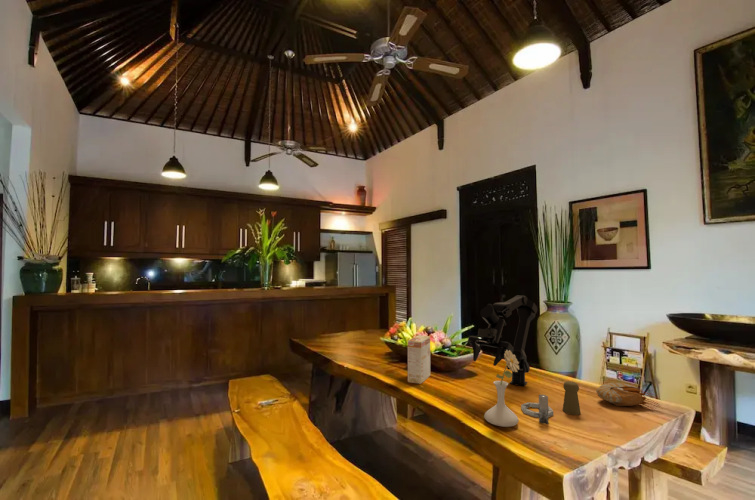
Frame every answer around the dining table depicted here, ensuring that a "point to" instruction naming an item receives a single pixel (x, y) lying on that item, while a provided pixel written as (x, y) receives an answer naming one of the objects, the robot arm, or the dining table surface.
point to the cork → (571, 398)
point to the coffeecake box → (418, 359)
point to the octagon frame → (543, 409)
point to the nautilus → (623, 395)
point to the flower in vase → (500, 411)
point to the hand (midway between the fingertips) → (484, 363)
